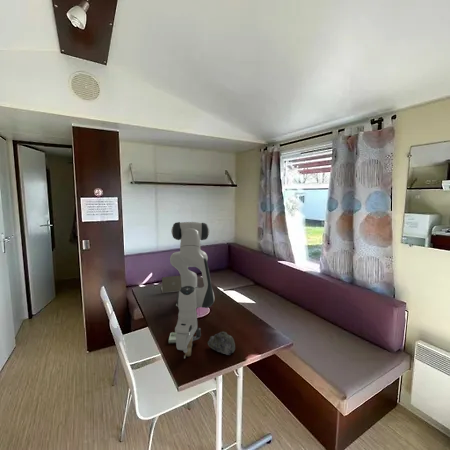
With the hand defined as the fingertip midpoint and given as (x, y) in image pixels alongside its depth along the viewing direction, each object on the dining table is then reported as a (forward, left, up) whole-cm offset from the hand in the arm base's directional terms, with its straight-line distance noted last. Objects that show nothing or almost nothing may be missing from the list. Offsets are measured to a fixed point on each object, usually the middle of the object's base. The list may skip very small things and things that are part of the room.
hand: (188, 347), depth 124 cm
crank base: (-4, -1, -4) cm, 6 cm away
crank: (-9, +1, -2) cm, 10 cm away
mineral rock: (-4, +17, -4) cm, 18 cm away
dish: (-14, -7, -4) cm, 16 cm away
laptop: (-89, -19, -4) cm, 92 cm away
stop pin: (0, 0, -4) cm, 4 cm away
